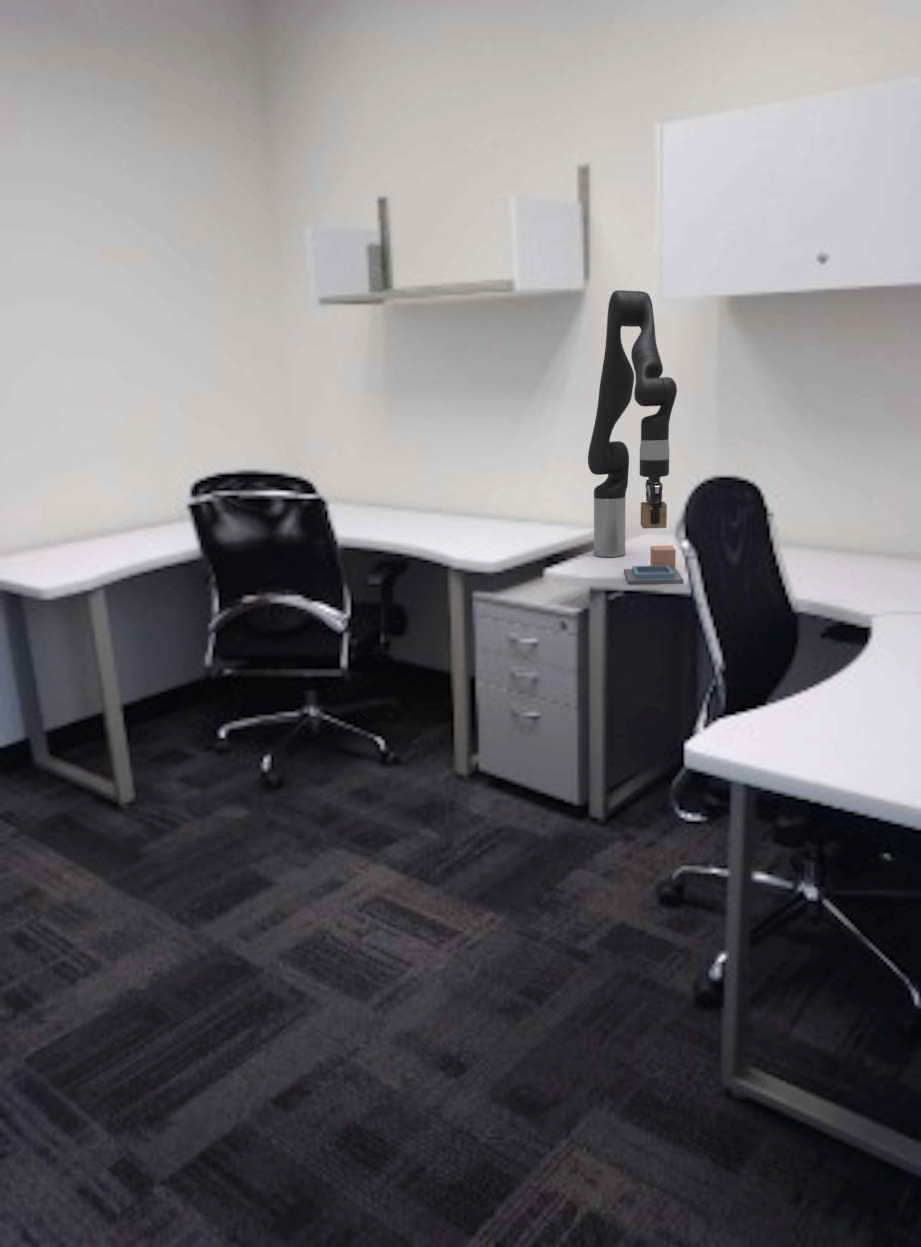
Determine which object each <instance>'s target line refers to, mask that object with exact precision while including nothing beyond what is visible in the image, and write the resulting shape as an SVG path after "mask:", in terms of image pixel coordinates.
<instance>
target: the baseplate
mask: <svg viewBox="0 0 921 1247" xmlns="http://www.w3.org/2000/svg"><path fill="white" fill-rule="evenodd" d="M623 574H624V577H625V579H626V581H627V584H628V585H663V584H666V585H667V584H684V578H683V577H682V575H681V574H680V572H679V571H678V569H677V567H675V568H671V567H670V566H669V565H666V566H650V565H632V566H631V568H623Z"/></svg>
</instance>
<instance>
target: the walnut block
mask: <svg viewBox="0 0 921 1247" xmlns="http://www.w3.org/2000/svg"><path fill="white" fill-rule="evenodd" d="M654 504H658V502H654ZM650 506H651V505H650V502H647V501H641V502H640V526H641V528H642V529H667V526H668V525H667V520H668V519H667V518H668V517H667V515H668V514H667V512H668V504H667V503H666V502H665V501H662V507H661V509H660V523H659V524H651V508H650Z"/></svg>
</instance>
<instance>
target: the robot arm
mask: <svg viewBox="0 0 921 1247" xmlns="http://www.w3.org/2000/svg"><path fill="white" fill-rule="evenodd" d="M653 308H654V307H653V303H652V299H651V296H650V294H649V293H648V292H646V291H642V290H641V291H640V290H621V289H620V290H619V289H618V290H614V291H613V292H612V293H611V295H610V298H609V302H608V307H607V317H606V318H607V321H606V336H605V347H604V356H603V362H602V370H601V375H600V380H599V381H600V382H599V389H598V399H597V407H596V409H597V410H596V415H595V420H594V425H593V426H594V427H593V430H592V434H591V439H590V442H589V443H590V444H589V448H588V453H587V465H588V468H589V471H590V473H591V474H593V475H595V476H599V475H600V476H603V475H607V478H606V479H605V480H604V481H603V482H601V484H600V483H599V485H597V486H595V488H594V490H593V554H594V556H596V557H602V558H617V557H622V556H625V555H626V496H627V495H626V493H627V489H628V485H629V471H630V470H629V469H630V467H629V466H630V455H629V449H628V447H627V445H626V444H625V443H624V442H623V441H620V440H616V441H610V440H611V436H612V433H613V429H614V428H615V425H616V424H617V423H618V421H619V420H620V418H621V417H622V415H623V414H624V412H626V410H627V408H628V406H629V404H630V403H631V400H632V396H634V401H635V402H636V403H637V404H638V405H639V406H641V407H659V409H658V411H657V412H656V413H654V414H651V415H647V416H644V417H642V418H641V421H640V422H641V423H640V445H639V476H640V477H643V478H648V479H646V481H645V498H646V499H645V502H650V505H651V506H650V508H651V524H659V523H660V509H661V507H662V502H663V489H664V488H663V487H664V486H663V483H662V481H661V478H663V477H668V476H669V475H670V441H669V440H670V437H669V436H670V433H669V431H670V430H669V429H670V420H671V415H672V410H673V407H674V405H675V404H674V403H675V402H676V401H675V400H676V398H677V394H678V393H677V392H678V388H677V383H676V382H675V380H674V379H673V378H671V377H667V376H665V377H664V376H662V375H663V372H664V367H663V363H662V360H661V357H660V353H659V350H658V349H659V348H658V346H657V345H658V344H657V339H656V330H655V329H656V326H655V318H654V309H653ZM622 327H632V328H636V327H638V328H640V332H639V335H638V336H637V338H636V339H635V342H634V343H633V345H632V348H631V351H630V352H631V362H632V364H631V362H630V361H629V358H628V357H627V354H626V352H625V350H624V347H623V342H622V334H621V333H622ZM632 365H633V367H632ZM661 376H662V377H661ZM634 380H635V381H634ZM634 383H635V386H634ZM633 389H634V392H633ZM633 393H634V394H633ZM654 502H658V504H654Z"/></svg>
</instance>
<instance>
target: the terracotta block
mask: <svg viewBox="0 0 921 1247" xmlns="http://www.w3.org/2000/svg"><path fill="white" fill-rule="evenodd" d="M649 560H650V564H649V566H666V565H669V566H670V567H671V568H676V548H675V547H674V546H673V545H650V559H649Z"/></svg>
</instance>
